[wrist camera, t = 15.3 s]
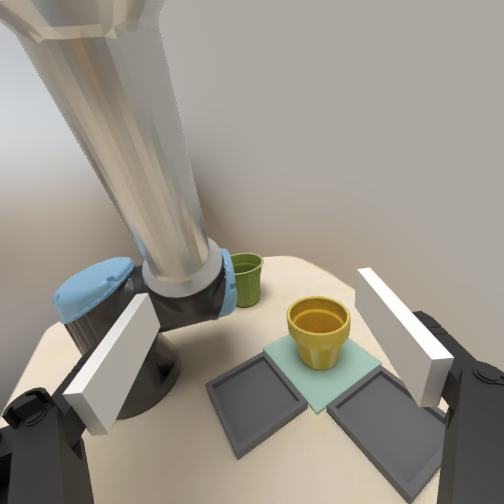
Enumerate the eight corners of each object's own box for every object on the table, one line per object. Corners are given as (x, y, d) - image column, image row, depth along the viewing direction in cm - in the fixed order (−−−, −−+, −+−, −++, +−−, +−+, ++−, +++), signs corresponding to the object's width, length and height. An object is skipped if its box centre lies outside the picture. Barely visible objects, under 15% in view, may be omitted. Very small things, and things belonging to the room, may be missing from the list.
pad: (263, 350, 48) (263, 348, 48) (319, 318, 54) (319, 317, 54) (317, 414, 36) (316, 412, 35) (381, 364, 42) (382, 362, 41)
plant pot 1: (277, 299, 63) (273, 261, 58) (239, 320, 57) (231, 280, 52) (251, 282, 72) (246, 248, 67) (216, 299, 66) (208, 263, 62)
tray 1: (207, 390, 42) (205, 384, 41) (265, 356, 46) (264, 350, 46) (238, 459, 32) (236, 453, 31) (307, 408, 37) (307, 401, 36)
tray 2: (326, 411, 36) (326, 405, 35) (378, 370, 41) (379, 364, 40) (409, 504, 26) (411, 498, 25) (465, 436, 31) (467, 429, 30)
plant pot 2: (295, 331, 51) (292, 292, 47) (348, 338, 47) (349, 297, 43) (285, 373, 42) (280, 329, 38) (348, 386, 38) (351, 340, 34)
